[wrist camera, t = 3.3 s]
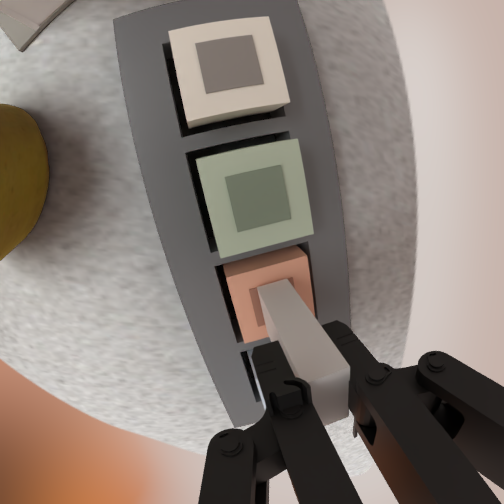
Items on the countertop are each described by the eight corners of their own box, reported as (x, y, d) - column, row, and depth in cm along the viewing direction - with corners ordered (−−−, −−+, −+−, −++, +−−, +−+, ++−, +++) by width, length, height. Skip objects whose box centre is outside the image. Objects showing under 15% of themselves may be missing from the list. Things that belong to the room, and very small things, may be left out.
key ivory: (173, 54, 11) (168, 30, 8) (254, 40, 11) (269, 15, 9) (188, 128, 12) (186, 121, 10) (271, 112, 13) (291, 101, 10)
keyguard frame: (123, 36, 11) (113, 19, 9) (280, 9, 12) (293, -10, 10) (230, 404, 21) (234, 427, 18) (337, 370, 22) (350, 390, 19)
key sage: (195, 158, 13) (195, 159, 10) (277, 141, 13) (298, 138, 11) (215, 237, 14) (220, 259, 12) (291, 218, 15) (314, 234, 12)
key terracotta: (220, 255, 16) (226, 278, 13) (288, 237, 17) (307, 256, 14) (236, 314, 18) (244, 344, 15) (298, 297, 18) (316, 323, 15)
